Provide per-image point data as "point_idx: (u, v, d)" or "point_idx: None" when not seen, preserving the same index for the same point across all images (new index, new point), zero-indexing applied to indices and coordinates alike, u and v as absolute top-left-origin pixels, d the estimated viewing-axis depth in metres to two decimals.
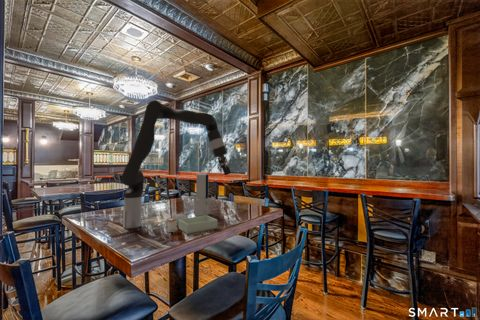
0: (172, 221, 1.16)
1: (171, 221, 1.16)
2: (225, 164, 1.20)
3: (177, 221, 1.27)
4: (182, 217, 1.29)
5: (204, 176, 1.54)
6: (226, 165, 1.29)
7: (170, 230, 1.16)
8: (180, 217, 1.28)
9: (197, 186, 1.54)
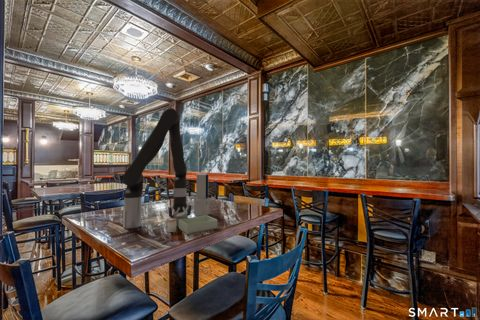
0: (172, 221, 1.16)
1: (171, 221, 1.16)
2: (175, 215, 1.28)
3: (177, 221, 1.27)
4: (182, 217, 1.29)
5: (204, 176, 1.54)
6: None
7: (170, 230, 1.16)
8: (180, 217, 1.28)
9: (197, 186, 1.54)
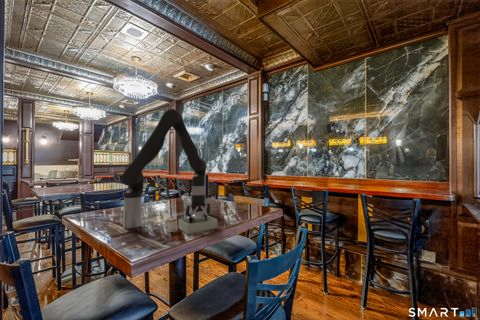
0: (172, 221, 1.16)
1: (171, 221, 1.16)
2: (192, 213, 1.21)
3: None
4: (200, 219, 1.22)
5: None
6: (206, 212, 1.27)
7: (170, 230, 1.16)
8: (198, 219, 1.21)
9: None
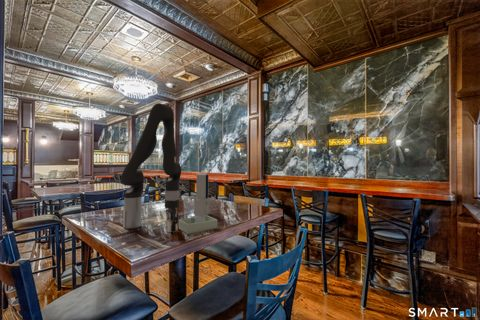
0: None
1: None
2: (175, 220, 1.17)
3: None
4: (200, 219, 1.22)
5: (204, 176, 1.54)
6: None
7: (170, 230, 1.16)
8: (198, 219, 1.21)
9: (197, 186, 1.54)
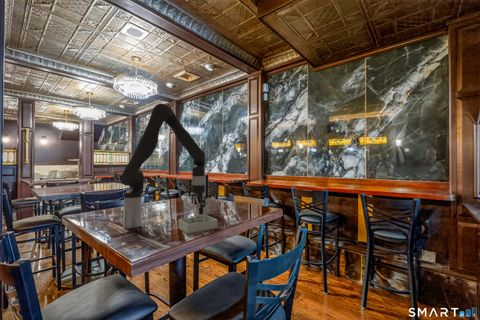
0: None
1: (197, 207, 1.22)
2: (202, 204, 1.22)
3: None
4: (200, 219, 1.22)
5: None
6: None
7: (197, 215, 1.22)
8: (198, 219, 1.21)
9: None
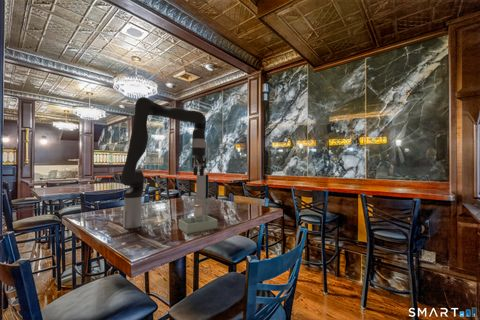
0: (199, 207, 1.22)
1: (197, 207, 1.22)
2: None
3: None
4: (200, 219, 1.22)
5: (204, 176, 1.54)
6: None
7: (197, 215, 1.22)
8: (198, 219, 1.21)
9: (197, 186, 1.54)
